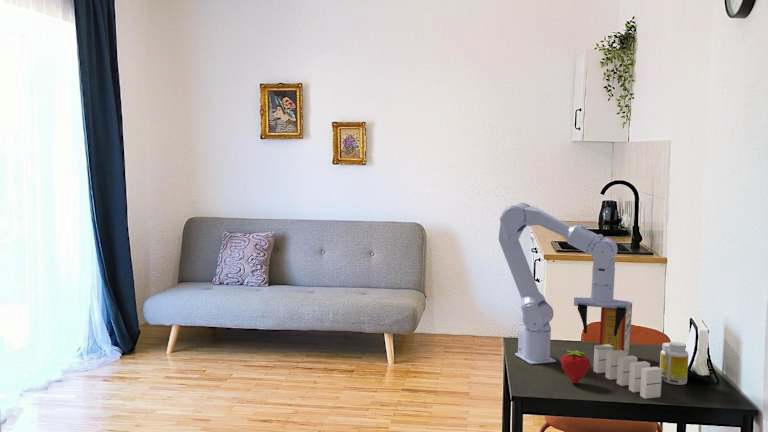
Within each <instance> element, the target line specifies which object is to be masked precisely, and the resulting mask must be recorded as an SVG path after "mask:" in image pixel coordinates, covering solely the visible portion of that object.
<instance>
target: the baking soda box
mask: <svg viewBox="0 0 768 432" xmlns="http://www.w3.org/2000/svg"><path fill="white" fill-rule="evenodd" d="M630 303H631V305H630V310H626V314H625V316H624V317H623V319H622V321H621V323H620V325H619V328H618V331H617V336H614V326H615V314H616V308H604V307H600V309H601V311H600V329H599V345H606V344H609V345H611V346H613V351H614V350H622V351H624V352H626V353H625V356H630V353H631V334H632V333H631V332H632V331H631V330H632V329H631V328H632V317H633V316H632V312H633V302H632V301H630Z"/></svg>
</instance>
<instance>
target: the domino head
mask: <svg viewBox="0 0 768 432" xmlns="http://www.w3.org/2000/svg"><path fill="white" fill-rule="evenodd" d="M593 349H594V351H593V368H592V369H593V370H592V371H593V372H595V373H596V374H603V373H605V371H606V352H607V351H613V346H611V345H609V344H606V345H600V344H595V345H594V346H593Z"/></svg>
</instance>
